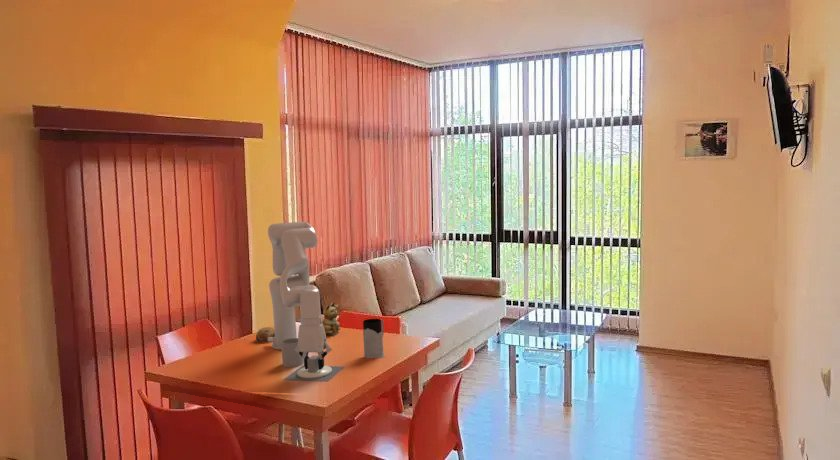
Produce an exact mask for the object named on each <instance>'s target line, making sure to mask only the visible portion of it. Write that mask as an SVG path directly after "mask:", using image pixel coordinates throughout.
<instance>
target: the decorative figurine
mask: <svg viewBox="0 0 840 460" xmlns="http://www.w3.org/2000/svg"><path fill="white" fill-rule="evenodd" d="M339 307H340V306H339V304H335V302H331V303H330V304H327V305H326V306H325V307H324V309H323V311H322V314H323V318H324V319H323V320H322V321H321V324H323V326H324V329H325V334H326V335H327V336H328V335H330V336H335V335H337V334H339V333H340V332H339V331H340V330H341V327H340V326H341V323H340V322H339V321H337V320H336V319H337V318H338V310H337V309H339Z"/></svg>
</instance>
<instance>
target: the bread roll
mask: <svg viewBox="0 0 840 460" xmlns="http://www.w3.org/2000/svg"><path fill="white" fill-rule="evenodd" d="M268 337H275V331H274V328H272V327H268V326H267V327H261V328H260V329H258V331H257V333H256V334H255V340H256V341H258V342H257V343H262V342H267V343H269V342H268Z"/></svg>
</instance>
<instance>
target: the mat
mask: <svg viewBox="0 0 840 460" xmlns="http://www.w3.org/2000/svg"><path fill="white" fill-rule="evenodd" d="M328 366H329V367H331V368H332V373H331V374H329V375H327V376H324V377H320V378H313V379H306V378H300V377H298V376H297V371H298V370H300V369H302V368H305V366H304V364H302V365H300V367H298V368H297V369H296V370H295V371H293V372H292V373H290V374H289V375H288V376H286V377H285V378H284V379H282V381H288V382H289V381H293V382H298V381H299V382H301V381H302V382H329V381H330V380H332V379H333V378H334V377H335V376H337V375H338V374H339V373H340V372H341V371H342V370H343V369H344V368H346V366H341V365H340V366H337V365H335V366H334V365H333V366H332V365H328Z"/></svg>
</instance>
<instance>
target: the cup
mask: <svg viewBox="0 0 840 460" xmlns="http://www.w3.org/2000/svg"><path fill="white" fill-rule="evenodd" d="M297 345H298V337H297V338H291V339H286V340H283V341H281V348H282V350H281V359H282V361H281V362H282V366H283V367H285V368H286V367H287V368H294V367H299V366H300V367H301V366H303V365H304V359H303V358H302V356H301V355H300V354H299V353H298V352H296V351H295V348H296V347H297Z"/></svg>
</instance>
